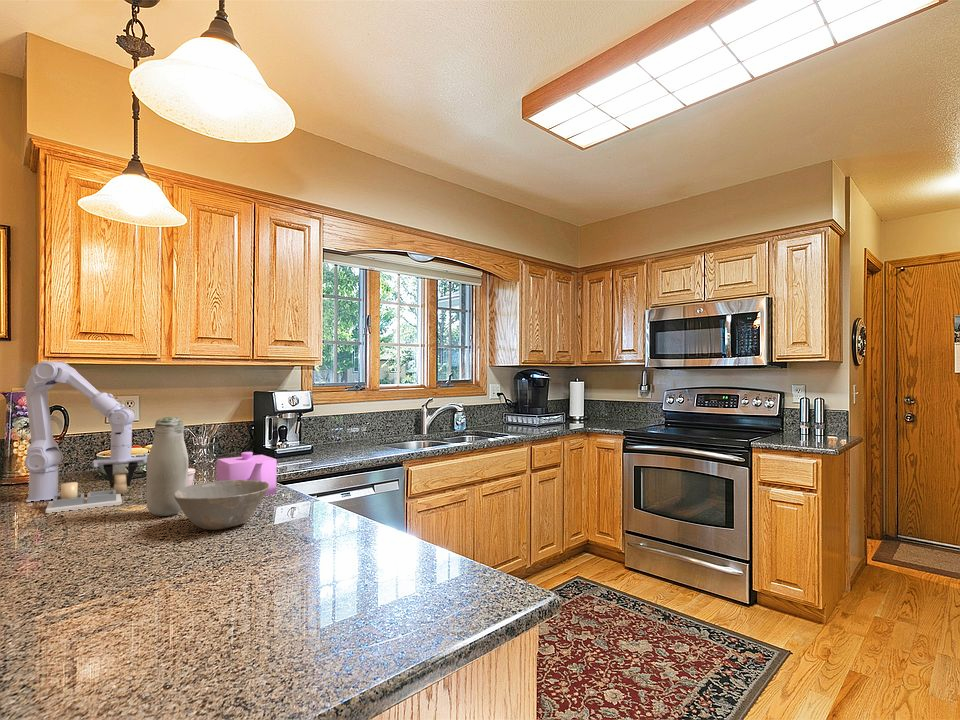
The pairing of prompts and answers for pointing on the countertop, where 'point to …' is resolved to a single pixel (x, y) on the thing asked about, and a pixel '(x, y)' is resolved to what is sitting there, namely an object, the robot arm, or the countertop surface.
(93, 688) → the countertop surface
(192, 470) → the smoothie
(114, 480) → the jaw peg
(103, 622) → the countertop surface
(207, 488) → the ceramic bowl
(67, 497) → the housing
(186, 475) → the glass bottle
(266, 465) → the teapot
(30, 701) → the countertop surface
